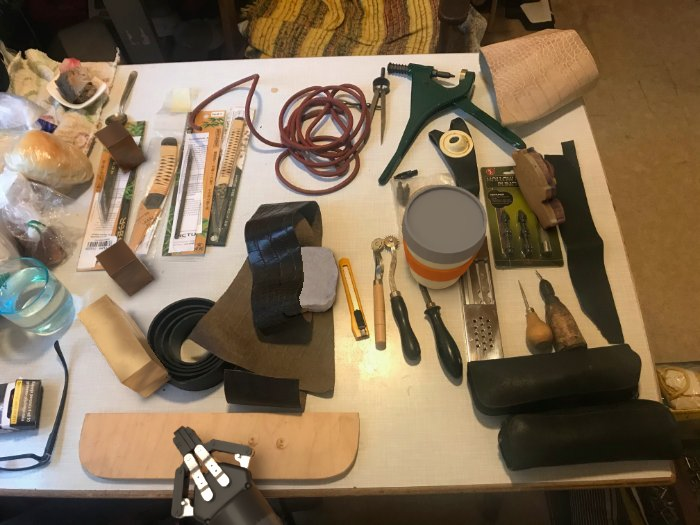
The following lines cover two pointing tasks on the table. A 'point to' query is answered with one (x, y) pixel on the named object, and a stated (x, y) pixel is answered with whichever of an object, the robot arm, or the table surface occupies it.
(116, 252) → the pillar near
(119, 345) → the birch block
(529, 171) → the wooden carving
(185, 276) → the table surface
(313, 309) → the stone block
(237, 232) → the table surface
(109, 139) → the pillar far
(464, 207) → the reusable coffee cup
